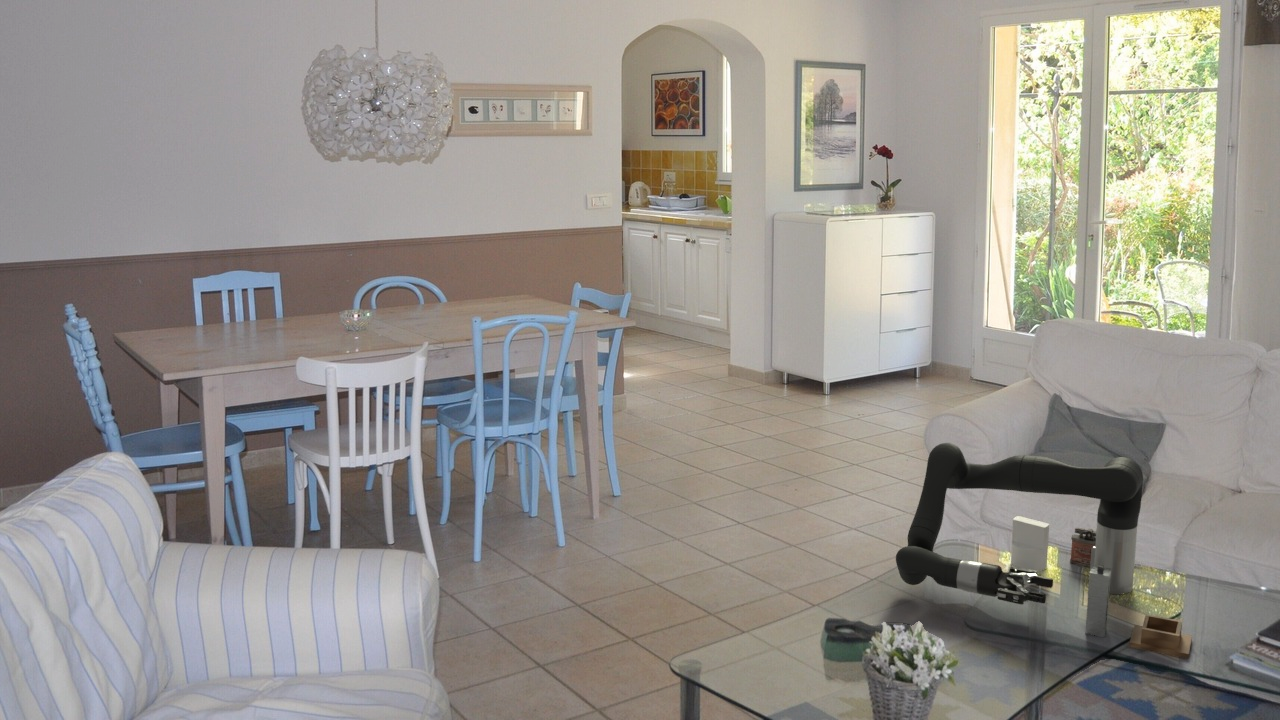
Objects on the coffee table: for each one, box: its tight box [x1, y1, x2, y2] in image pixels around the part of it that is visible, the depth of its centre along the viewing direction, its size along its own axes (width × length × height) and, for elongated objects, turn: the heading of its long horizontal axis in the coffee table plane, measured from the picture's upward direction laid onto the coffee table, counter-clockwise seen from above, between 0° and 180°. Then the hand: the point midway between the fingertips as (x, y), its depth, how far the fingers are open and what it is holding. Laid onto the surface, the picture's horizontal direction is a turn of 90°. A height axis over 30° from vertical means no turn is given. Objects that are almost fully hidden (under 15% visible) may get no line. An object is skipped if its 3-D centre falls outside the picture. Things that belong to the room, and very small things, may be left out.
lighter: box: [1069, 526, 1096, 569], centre depth 291 cm, size 8×3×10 cm, turn 58°
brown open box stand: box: [1128, 613, 1193, 660], centre depth 252 cm, size 12×9×5 cm
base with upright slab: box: [1010, 515, 1050, 572], centre depth 292 cm, size 9×9×12 cm
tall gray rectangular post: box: [1085, 565, 1111, 638], centre depth 257 cm, size 4×4×17 cm
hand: (1049, 591), depth 262 cm, fingers open, 8 cm apart
